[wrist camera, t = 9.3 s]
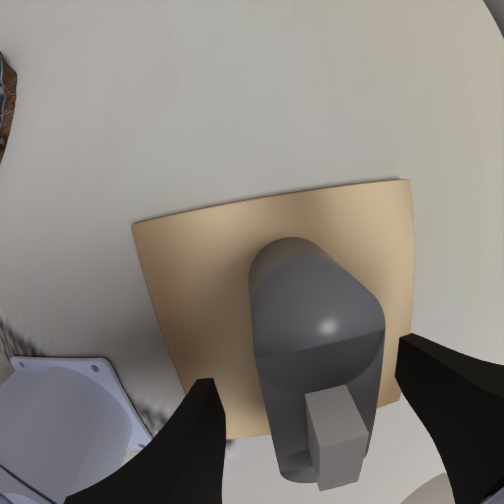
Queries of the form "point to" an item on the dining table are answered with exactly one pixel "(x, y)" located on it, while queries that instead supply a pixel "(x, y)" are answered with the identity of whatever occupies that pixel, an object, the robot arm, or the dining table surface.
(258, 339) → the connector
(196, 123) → the dining table surface
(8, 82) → the burger
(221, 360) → the oak board
